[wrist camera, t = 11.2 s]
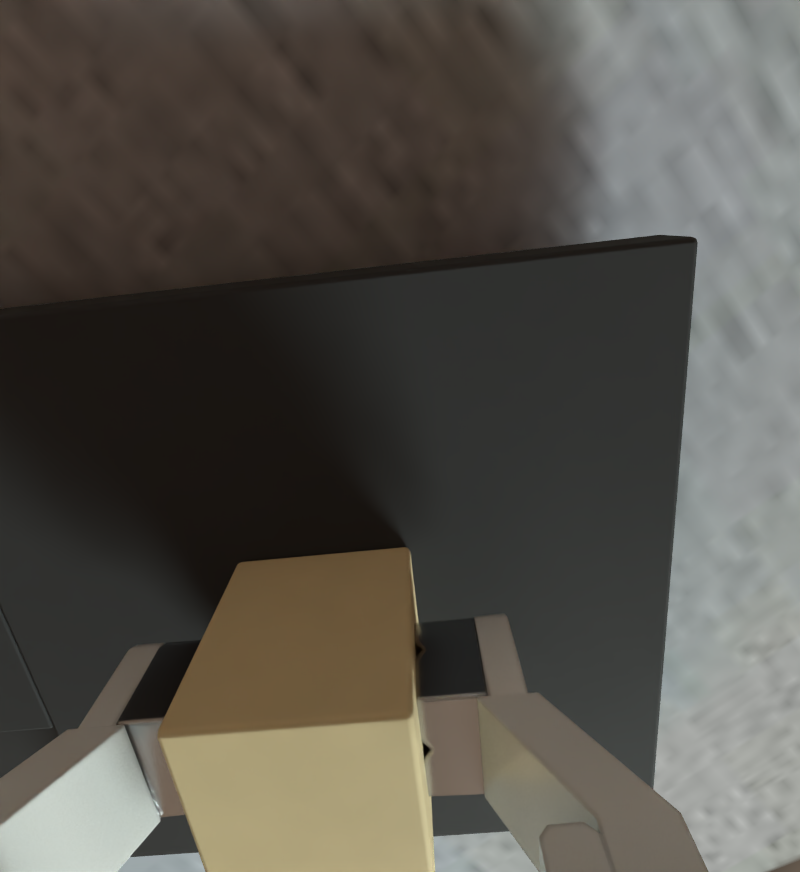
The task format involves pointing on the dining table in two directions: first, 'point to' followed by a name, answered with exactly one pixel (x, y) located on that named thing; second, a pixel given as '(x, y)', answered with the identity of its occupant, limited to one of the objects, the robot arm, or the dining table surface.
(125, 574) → the tab pad
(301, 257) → the dining table surface
